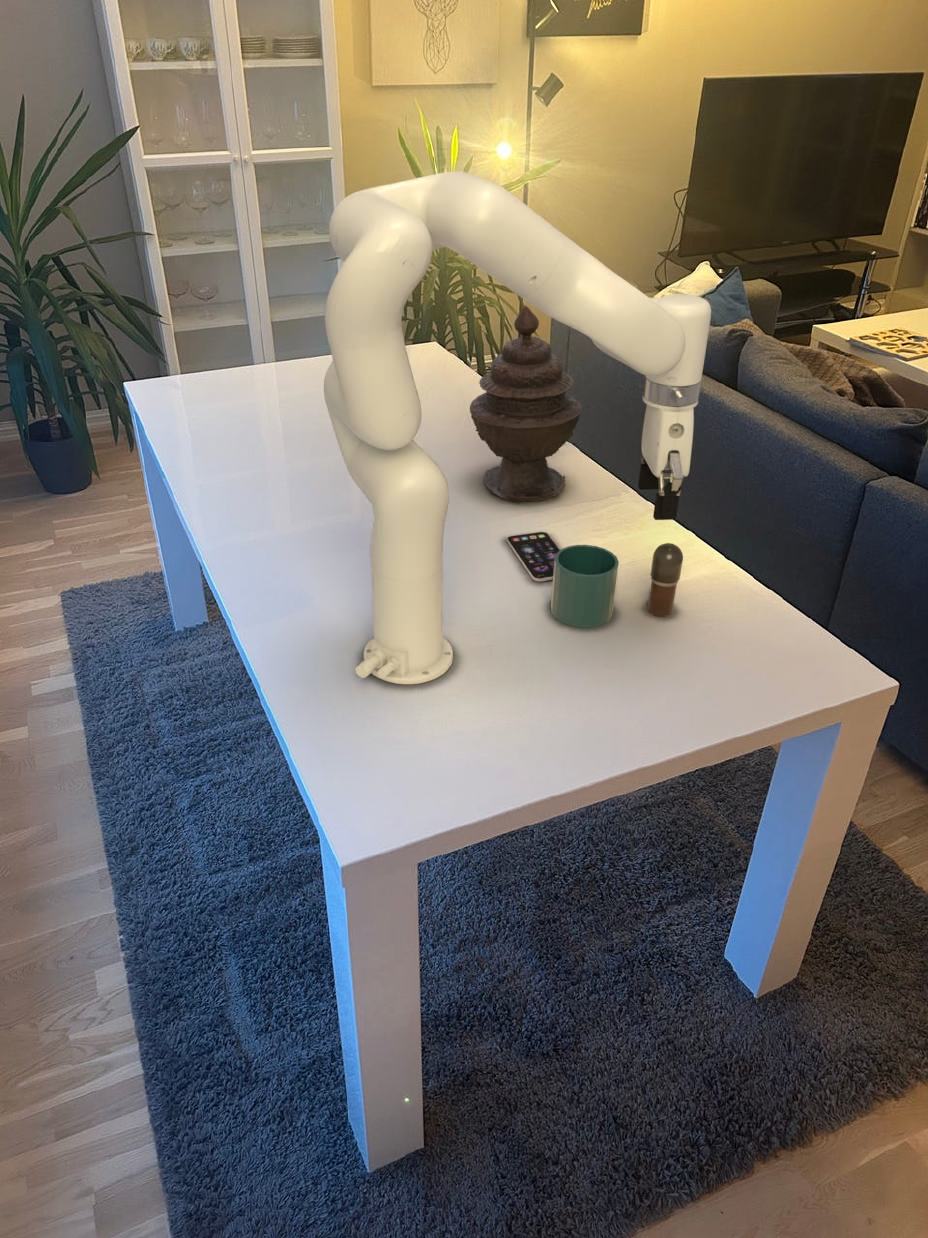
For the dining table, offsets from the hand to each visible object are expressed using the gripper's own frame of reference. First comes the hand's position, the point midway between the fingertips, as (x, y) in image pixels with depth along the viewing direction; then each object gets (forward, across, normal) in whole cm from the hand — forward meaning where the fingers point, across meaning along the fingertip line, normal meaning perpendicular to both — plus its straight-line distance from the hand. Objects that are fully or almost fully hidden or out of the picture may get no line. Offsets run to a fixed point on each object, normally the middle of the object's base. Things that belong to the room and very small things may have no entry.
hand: (656, 503), depth 139 cm
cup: (+17, -2, +10) cm, 20 cm away
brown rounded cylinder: (+17, -2, -2) cm, 17 cm away
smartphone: (+17, +14, +14) cm, 27 cm away
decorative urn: (+17, +42, +14) cm, 47 cm away
